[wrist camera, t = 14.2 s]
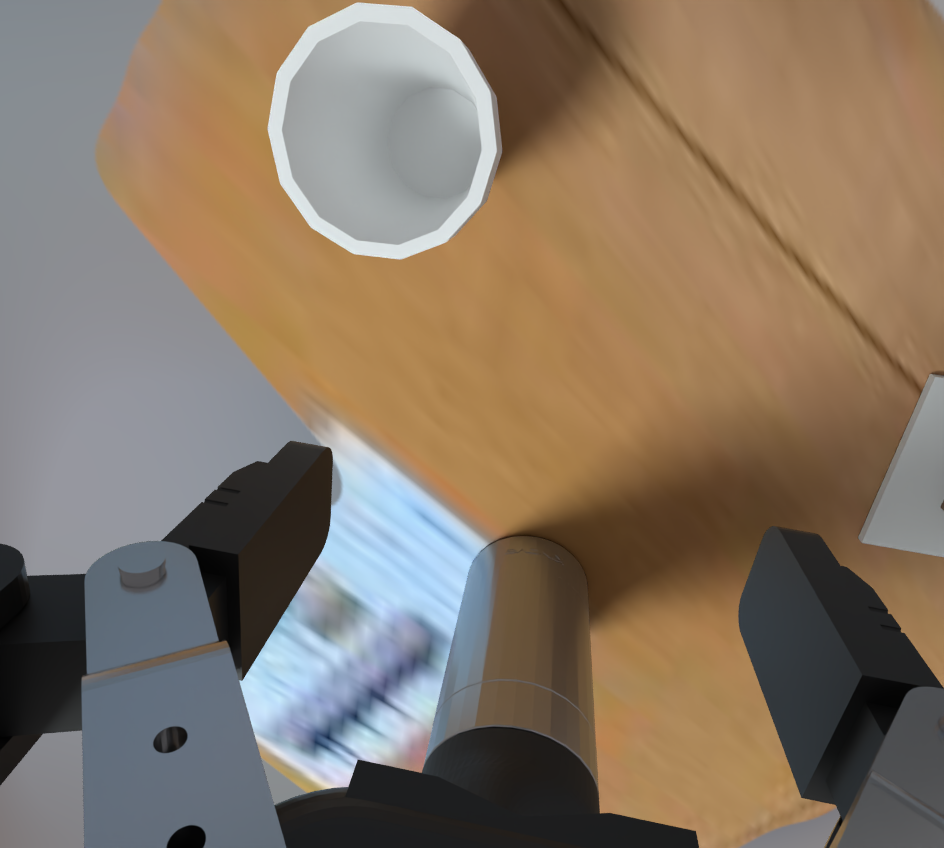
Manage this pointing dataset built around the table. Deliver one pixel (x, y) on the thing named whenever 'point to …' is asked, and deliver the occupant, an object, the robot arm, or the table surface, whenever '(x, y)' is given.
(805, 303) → the table surface
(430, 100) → the foam cup
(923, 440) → the mat
